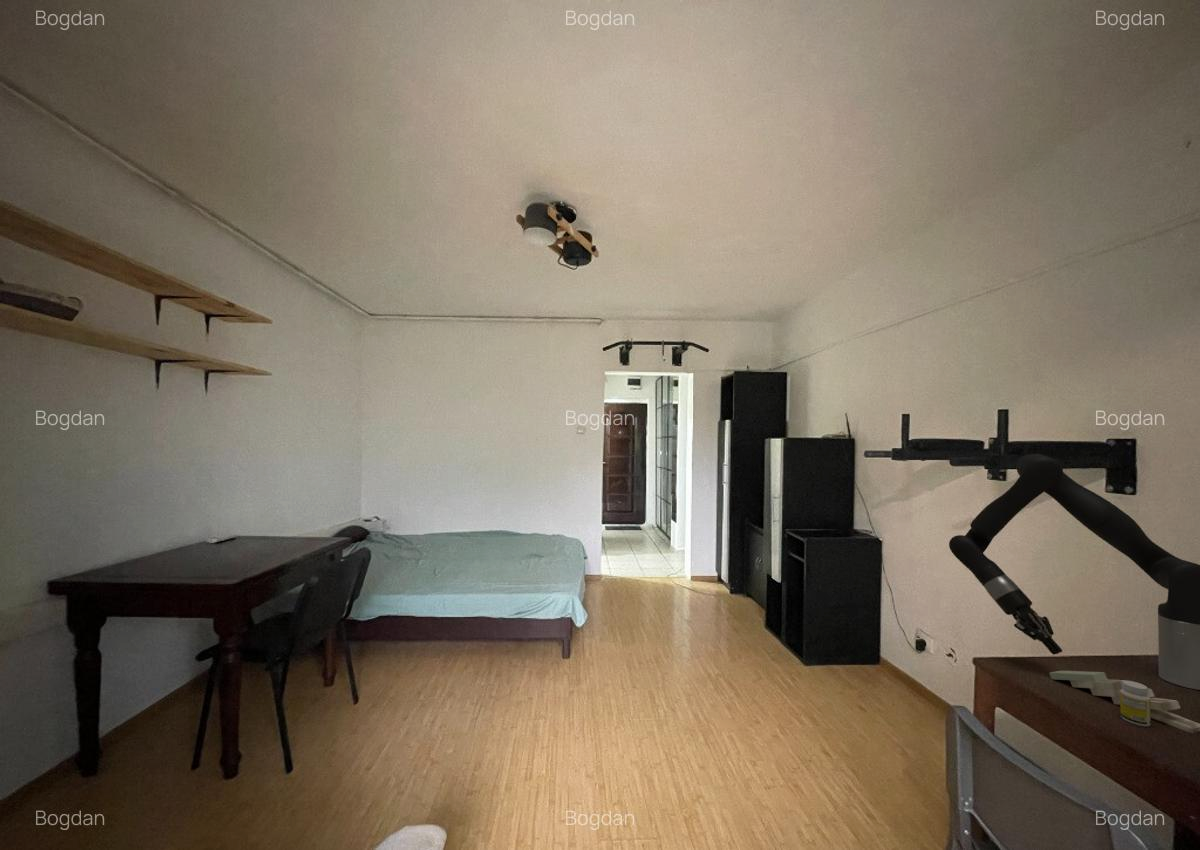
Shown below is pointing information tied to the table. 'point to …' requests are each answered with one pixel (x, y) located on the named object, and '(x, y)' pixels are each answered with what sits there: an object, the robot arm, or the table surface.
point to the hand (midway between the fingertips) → (1058, 653)
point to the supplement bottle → (1135, 703)
